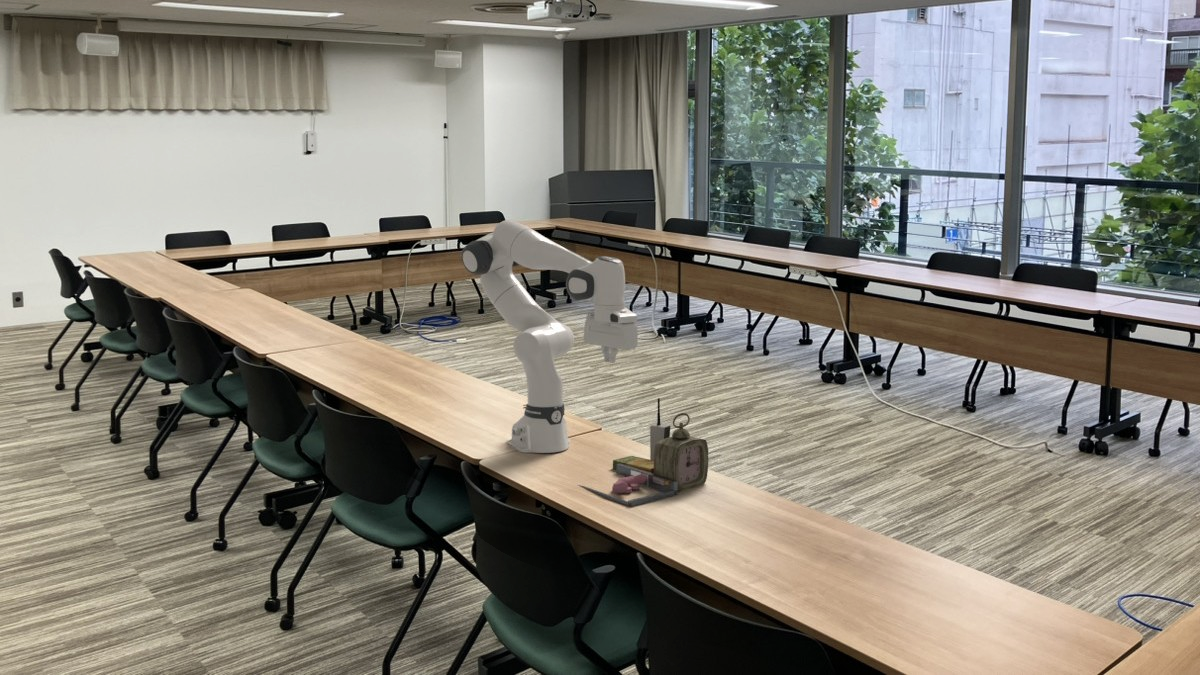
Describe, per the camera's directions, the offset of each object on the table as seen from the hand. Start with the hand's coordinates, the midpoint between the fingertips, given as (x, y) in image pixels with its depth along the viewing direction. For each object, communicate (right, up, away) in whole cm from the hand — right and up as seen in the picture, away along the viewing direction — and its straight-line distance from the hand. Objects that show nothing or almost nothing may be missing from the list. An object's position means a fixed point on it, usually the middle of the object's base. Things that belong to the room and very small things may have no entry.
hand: (609, 362), depth 293 cm
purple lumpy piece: (+8, -34, -8) cm, 36 cm away
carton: (+14, -37, +6) cm, 40 cm away
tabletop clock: (+20, -39, +2) cm, 44 cm away
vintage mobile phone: (+16, -36, +18) cm, 43 cm away
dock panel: (+4, -36, -5) cm, 37 cm away
